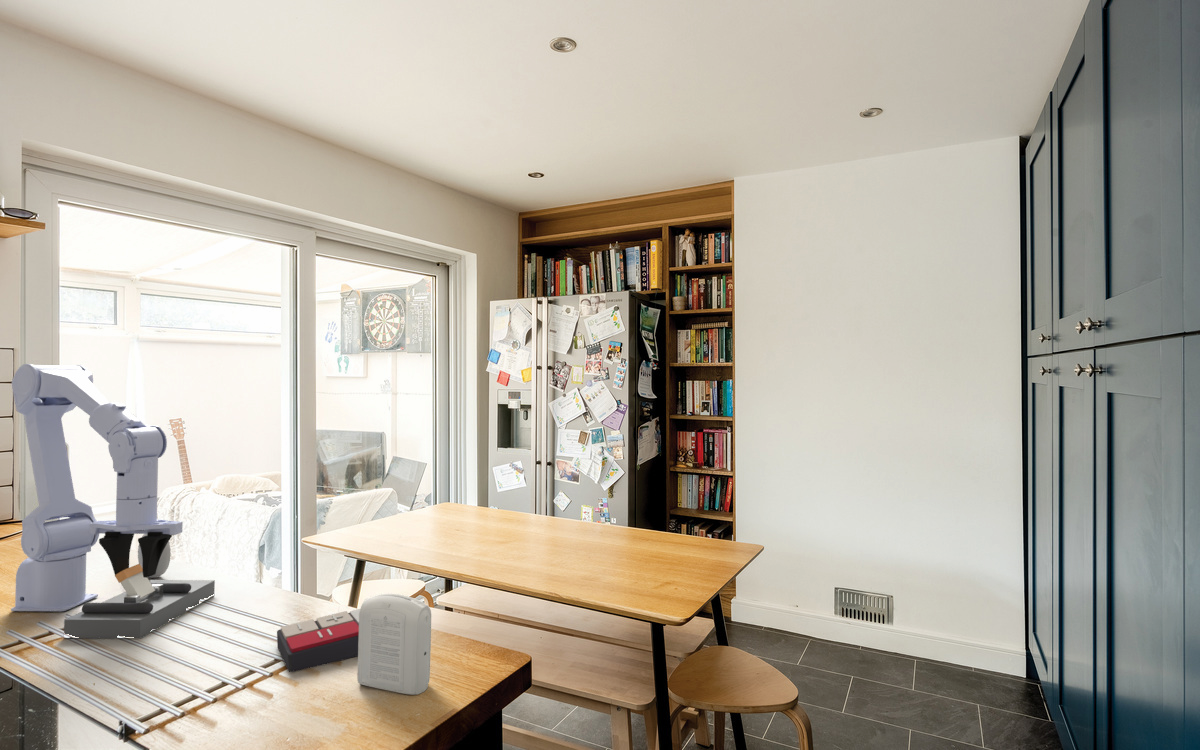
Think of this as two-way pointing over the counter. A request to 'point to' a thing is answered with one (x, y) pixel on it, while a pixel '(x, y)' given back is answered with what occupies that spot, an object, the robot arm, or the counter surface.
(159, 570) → the donut
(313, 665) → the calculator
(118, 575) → the lever
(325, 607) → the counter surface
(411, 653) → the photo printer
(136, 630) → the box
